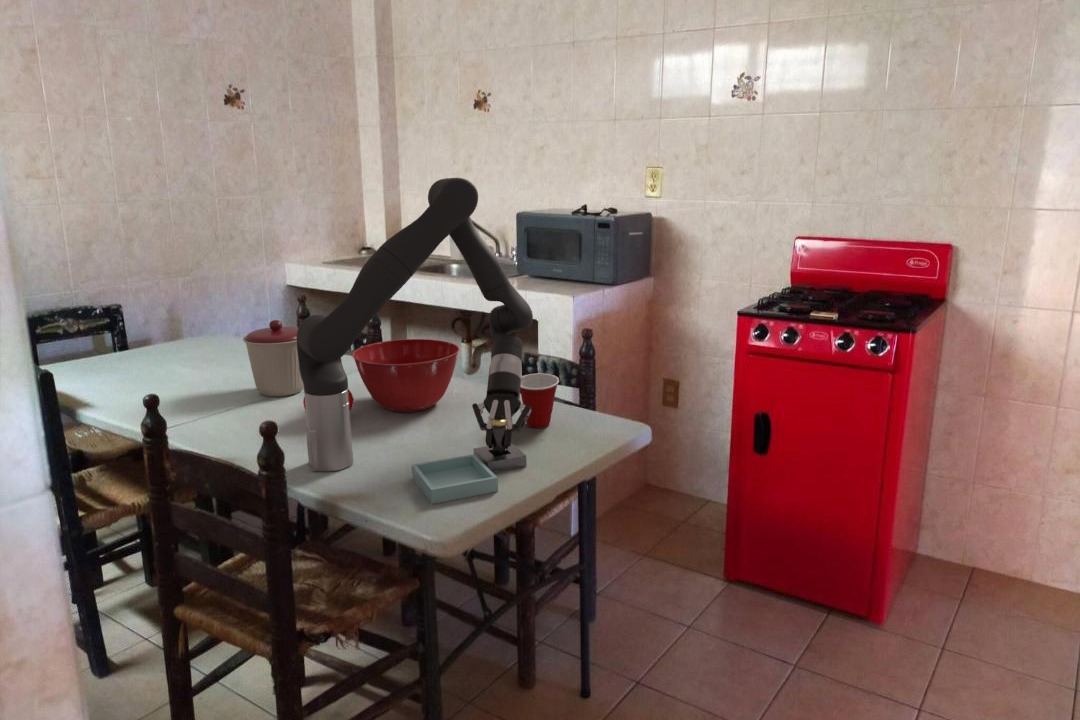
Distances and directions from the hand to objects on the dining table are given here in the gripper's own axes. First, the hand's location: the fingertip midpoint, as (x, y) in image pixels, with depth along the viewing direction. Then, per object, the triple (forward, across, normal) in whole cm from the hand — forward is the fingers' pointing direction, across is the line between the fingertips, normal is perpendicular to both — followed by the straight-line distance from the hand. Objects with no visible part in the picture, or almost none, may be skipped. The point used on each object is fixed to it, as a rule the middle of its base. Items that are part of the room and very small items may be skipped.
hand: (498, 446), depth 172 cm
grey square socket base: (+2, 0, +5) cm, 5 cm away
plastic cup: (-16, +6, +23) cm, 29 cm away
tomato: (-15, -48, +22) cm, 55 cm away
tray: (+11, -8, -4) cm, 14 cm away
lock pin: (+2, 0, +5) cm, 5 cm away
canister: (-32, -70, +38) cm, 86 cm away
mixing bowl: (-26, -31, +32) cm, 51 cm away
